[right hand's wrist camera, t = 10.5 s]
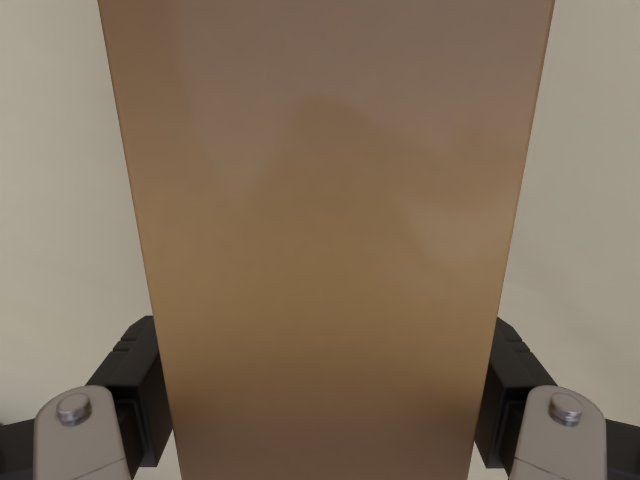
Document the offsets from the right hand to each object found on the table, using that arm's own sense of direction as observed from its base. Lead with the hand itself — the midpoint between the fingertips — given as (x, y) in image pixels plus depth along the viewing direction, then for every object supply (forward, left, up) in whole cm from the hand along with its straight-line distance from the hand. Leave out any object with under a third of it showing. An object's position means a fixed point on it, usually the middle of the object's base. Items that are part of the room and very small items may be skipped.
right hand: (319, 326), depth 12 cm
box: (+8, +2, -5) cm, 10 cm away
